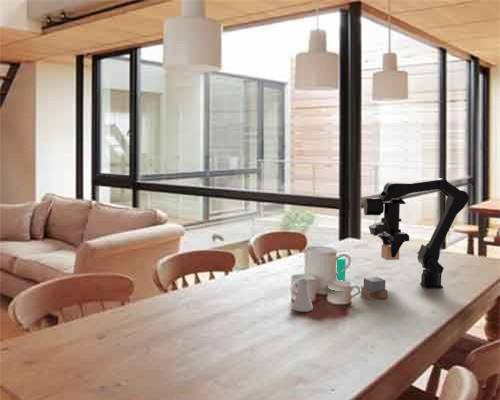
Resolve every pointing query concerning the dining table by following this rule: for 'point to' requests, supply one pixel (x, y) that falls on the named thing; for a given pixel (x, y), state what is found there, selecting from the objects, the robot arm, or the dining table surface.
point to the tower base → (373, 294)
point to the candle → (341, 268)
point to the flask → (302, 298)
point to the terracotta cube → (388, 253)
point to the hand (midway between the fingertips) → (390, 255)
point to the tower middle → (374, 284)
